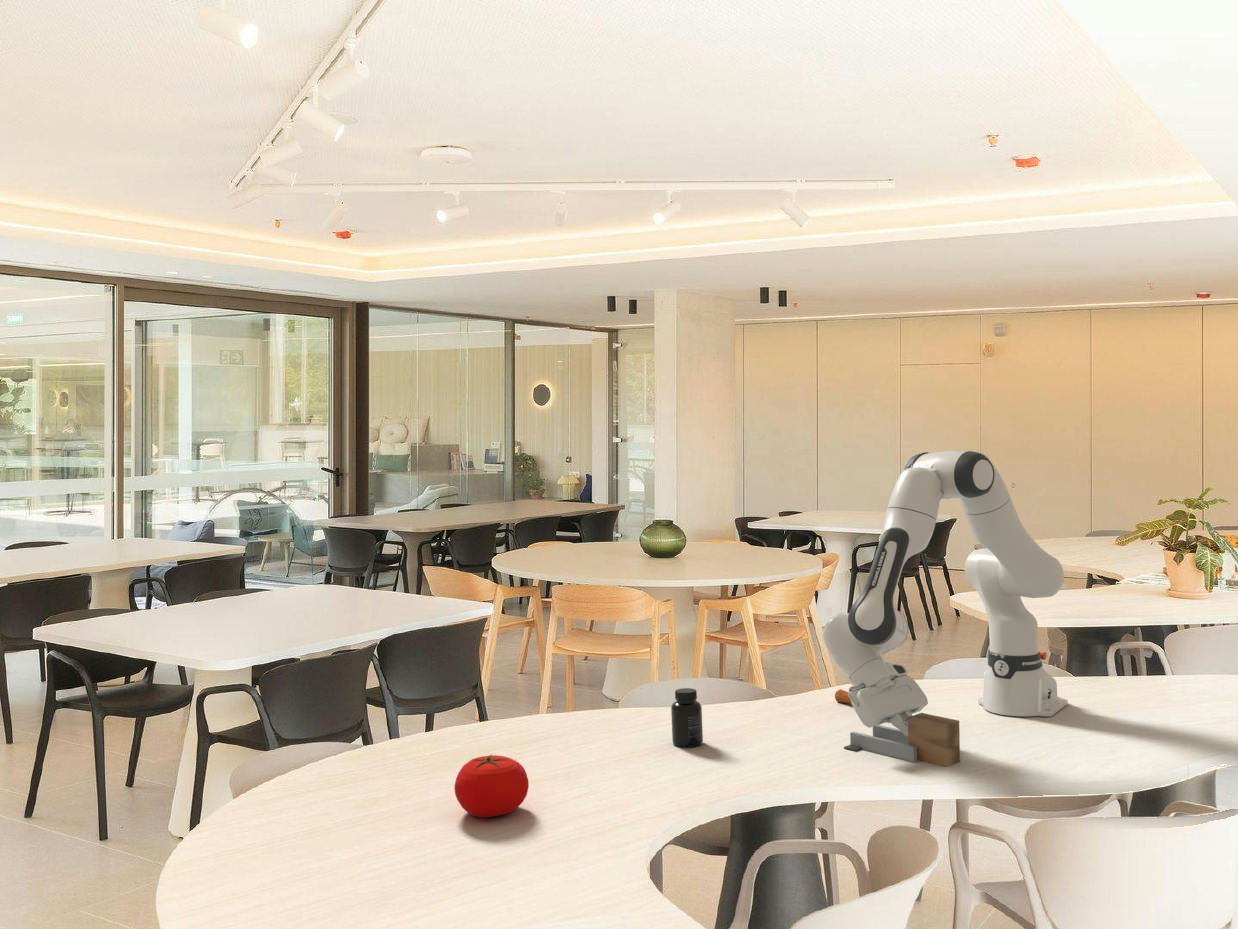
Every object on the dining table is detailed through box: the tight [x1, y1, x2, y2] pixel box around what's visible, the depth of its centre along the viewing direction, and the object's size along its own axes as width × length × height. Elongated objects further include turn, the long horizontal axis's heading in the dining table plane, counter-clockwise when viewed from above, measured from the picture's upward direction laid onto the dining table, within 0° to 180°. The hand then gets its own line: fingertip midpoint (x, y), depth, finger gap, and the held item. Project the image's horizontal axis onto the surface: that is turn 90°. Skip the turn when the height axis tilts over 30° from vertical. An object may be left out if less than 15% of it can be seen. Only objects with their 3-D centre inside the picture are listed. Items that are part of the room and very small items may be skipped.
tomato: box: [453, 754, 530, 818], centre depth 201 cm, size 14×13×10 cm
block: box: [908, 712, 961, 768], centre depth 226 cm, size 5×9×8 cm, turn 41°
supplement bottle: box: [670, 687, 704, 748], centre depth 241 cm, size 7×7×12 cm
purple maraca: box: [834, 689, 852, 704], centre depth 265 cm, size 6×6×20 cm
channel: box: [843, 724, 918, 763], centre depth 233 cm, size 14×16×3 cm
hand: (912, 734), depth 230 cm, fingers closed, pressing on block
